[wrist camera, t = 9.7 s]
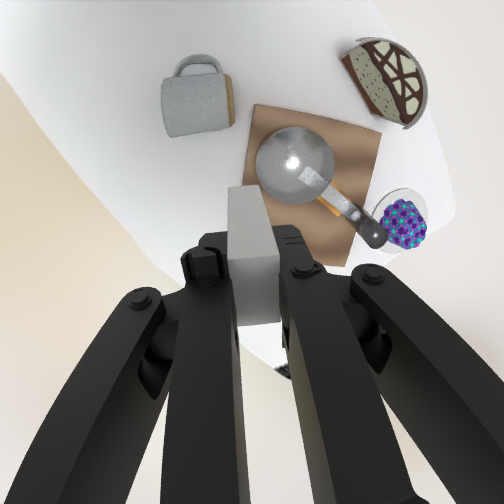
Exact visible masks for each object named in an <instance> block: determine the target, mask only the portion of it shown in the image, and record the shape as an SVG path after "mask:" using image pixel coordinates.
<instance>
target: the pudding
mask: <svg viewBox="0 0 504 504" xmlns="http://www.w3.org/2000/svg"><path fill="white" fill-rule="evenodd" d="M398 199H399V200H398ZM403 199H408V200H410V201H407V202H405V201H404V200H403ZM395 200H396V201H395ZM393 201H395V203H394V204H393V205H389V204H390V203H391V202H393ZM411 201H412V202H413V203H414V204H415V205H414V204H413V203H412V202H411ZM388 205H389V206H388ZM415 206H416V207H417V208H416V207H415ZM385 208H386V209H385ZM383 211H384V216H383V217H382V218H381V219H380V217H381V215H382V213H383ZM373 218H374V219H375V220H376V221H377V222H378V223H379V224H381V225H382V226H383V227H384V228H385V229H386V230H387V232H388V239H387V240H388V241H389V242H391V243H389V242H386V243H385V245H384V246H382V247H381V248H378V249H380V250H381V251H383V252H385V253H390V254H395V253H400V252H403V251H405V250H407V249H411V248H412V247H413V248H415V247H417V246H418V245H419V244H420V242H421V241H423V240H424V238H425V236H426V235H425V232H426V231H427V225H426V223H427V207H426V204H425V201H424V199H423V198H422V197H421V196H420V194H418V193H417V192H415V191H413V190H410V189H400V190H397V191H394V192H392V193H390V194H389V195H388V196H386V197H385V198H384V199H383V200H382V201H381V202H380V204H379V205H378V206H377V208H376V210H375V212H374V214H373ZM379 221H380V222H379Z"/></svg>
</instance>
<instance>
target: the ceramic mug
mask: <svg viewBox="0 0 504 504" xmlns="http://www.w3.org/2000/svg"><path fill="white" fill-rule="evenodd" d="M193 63H204V64H207V63H210V64H212V65H213V66H214V67H215V68H216V70H217V72H218V73H213V74H203V75H192V76H182V77H179V74H180V72H181V70H182V69H183V68H184V67H185V66H187V65H189V64H193ZM161 106H162V114H163V121H164V126H165V129H166V131H167V134H168V135H169V137H172V138H173V137H178V136H183V135H190V134H196V133H201V132H208V131H216V130H222V129H225V128H229V127H231V126H232V125H233V124H234V121H235V118H234V99H233V90H232V82H231V78H230V77H229V76H228V75H226V74H221V68H220V65H219V63H218V62H217V60H215V59H214V58H212V57H210V56H207V55H192V56H189V57H187V58H185V59H183V60H182V61H181V62H180V63H179V65H178V66H177V68H176V69H175V72H174V75H173V78H167V79H164V80H163V82H162V86H161Z"/></svg>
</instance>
